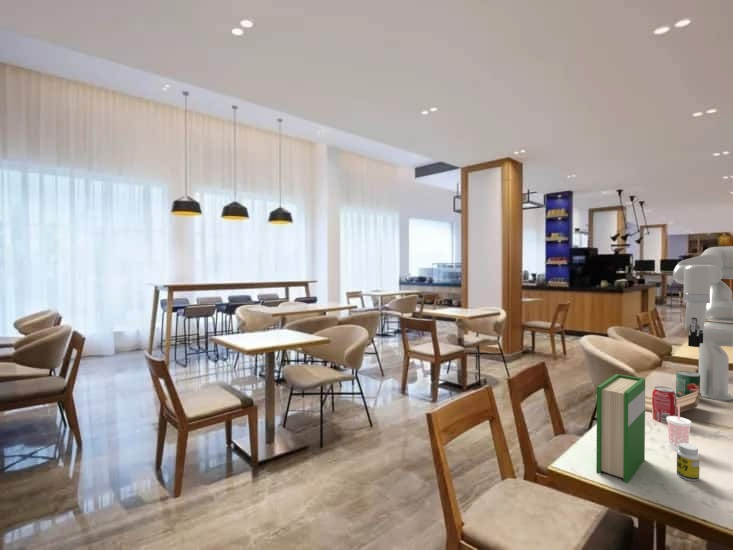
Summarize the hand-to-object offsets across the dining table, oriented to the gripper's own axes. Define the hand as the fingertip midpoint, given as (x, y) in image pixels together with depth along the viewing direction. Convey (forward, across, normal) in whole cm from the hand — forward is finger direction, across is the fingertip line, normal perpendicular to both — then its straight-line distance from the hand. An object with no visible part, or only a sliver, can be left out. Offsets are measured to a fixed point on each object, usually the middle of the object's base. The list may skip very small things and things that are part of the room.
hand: (695, 344), depth 146 cm
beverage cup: (+28, +35, 0) cm, 45 cm away
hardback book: (+28, +60, -10) cm, 66 cm away
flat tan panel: (+27, -1, -12) cm, 30 cm away
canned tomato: (+27, -22, -5) cm, 35 cm away
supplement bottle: (+28, +54, +4) cm, 61 cm away
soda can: (+27, +13, -7) cm, 31 cm away
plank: (+24, -1, -3) cm, 24 cm away
